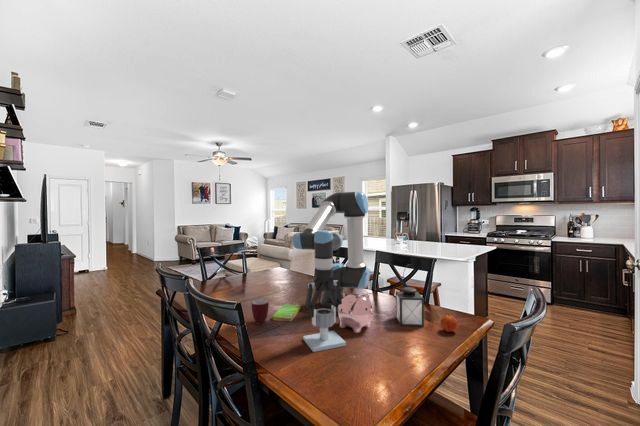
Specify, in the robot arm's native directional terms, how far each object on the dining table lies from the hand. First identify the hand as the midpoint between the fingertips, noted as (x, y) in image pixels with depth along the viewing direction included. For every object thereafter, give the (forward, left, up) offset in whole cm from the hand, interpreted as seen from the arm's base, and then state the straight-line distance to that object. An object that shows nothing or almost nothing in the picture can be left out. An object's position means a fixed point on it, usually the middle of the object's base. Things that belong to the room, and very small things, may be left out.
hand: (323, 323), depth 121 cm
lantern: (-47, -5, -8) cm, 48 cm away
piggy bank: (-20, -9, -8) cm, 24 cm away
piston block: (0, 0, -8) cm, 8 cm away
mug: (+21, -31, -8) cm, 38 cm away
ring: (0, 0, 0) cm, 0 cm away
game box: (+5, -39, -9) cm, 40 cm away
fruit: (-56, +11, -8) cm, 58 cm away
